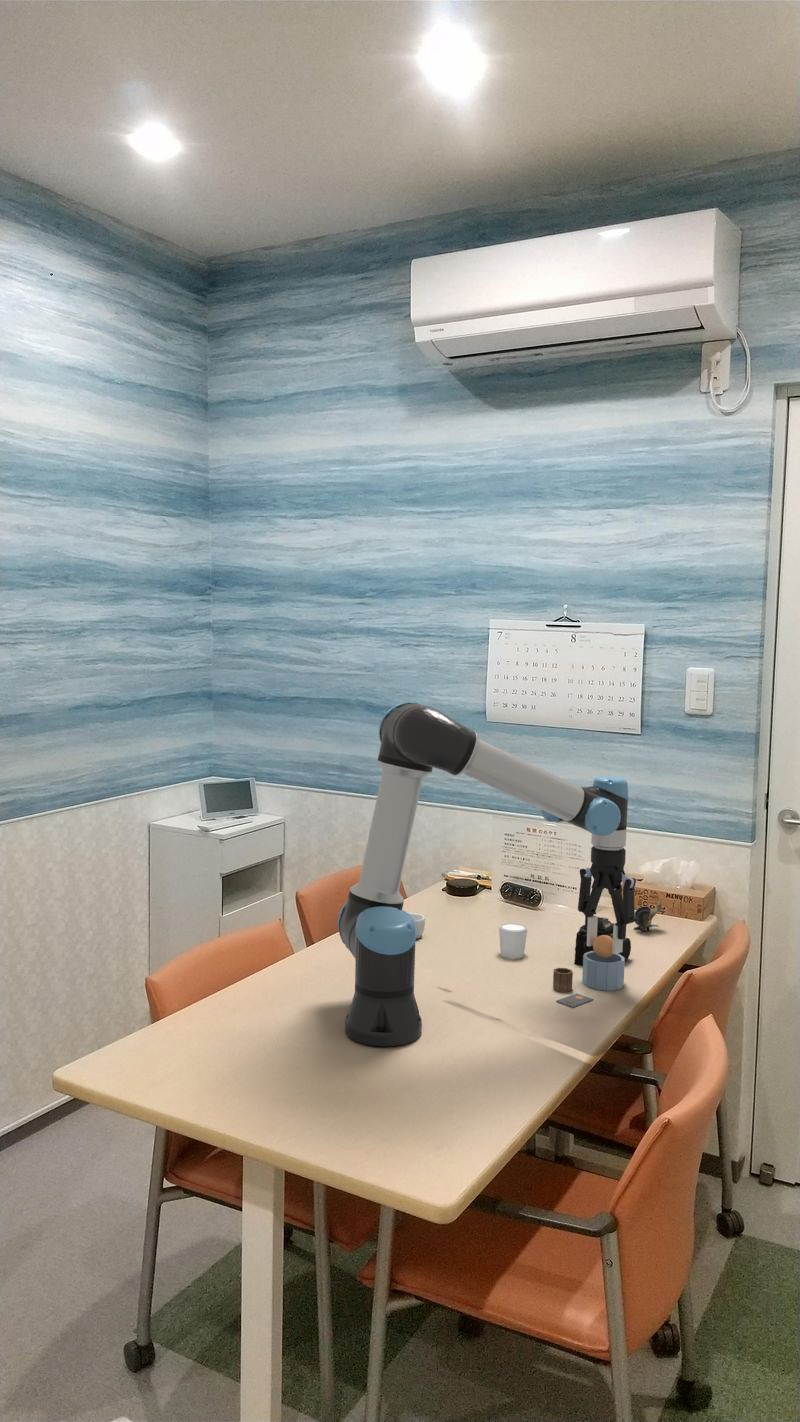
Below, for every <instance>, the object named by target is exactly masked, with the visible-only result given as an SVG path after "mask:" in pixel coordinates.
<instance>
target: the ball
mask: <svg viewBox="0 0 800 1422" xmlns="http://www.w3.org/2000/svg"><path fill="white" fill-rule="evenodd" d="M593 949H594V952H595V953H596V954H597V955H598V956H599V957H602V958H608V957H611V956H612V955H613V953H612V949H613V939H612V938H611V937H610V936H607V935H601V936H598V937H597V938H596V939H595V940H594V943H593Z"/></svg>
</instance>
